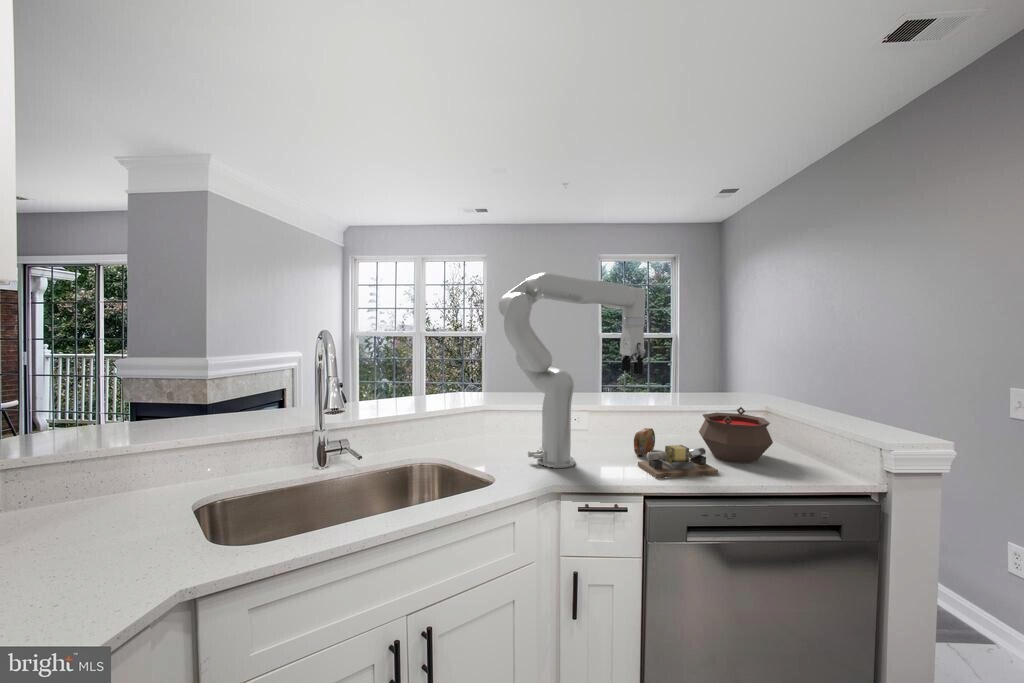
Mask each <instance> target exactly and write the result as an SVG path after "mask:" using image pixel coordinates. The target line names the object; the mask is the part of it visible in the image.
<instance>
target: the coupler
mask: <svg viewBox="0 0 1024 683" xmlns="http://www.w3.org/2000/svg"><path fill="white" fill-rule="evenodd" d="M664 446H665V447H664V452H666V454H667V459H665V461H666V462H667V463H669V464H671V463H674V462H689V459H690V458H689V450H690V448H689V447H687V446H685V445H683V444H677V445H673V444H672V445H664Z"/></svg>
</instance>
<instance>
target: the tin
mask: <svg viewBox="0 0 1024 683" xmlns="http://www.w3.org/2000/svg"><path fill="white" fill-rule="evenodd" d="M655 443H656V435H655V431H654V429H653V428H648V427H647V428H643V429H641V430H639V431H637V432H636V433H635V434H634V437H633V451H634V453H635V454H636V455H637V456H641V457H645V456H646V455H645V454H647V453H648V452H650V451H651V452H653V451H654V450H655V449H654V448H655ZM644 455H645V456H644Z"/></svg>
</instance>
